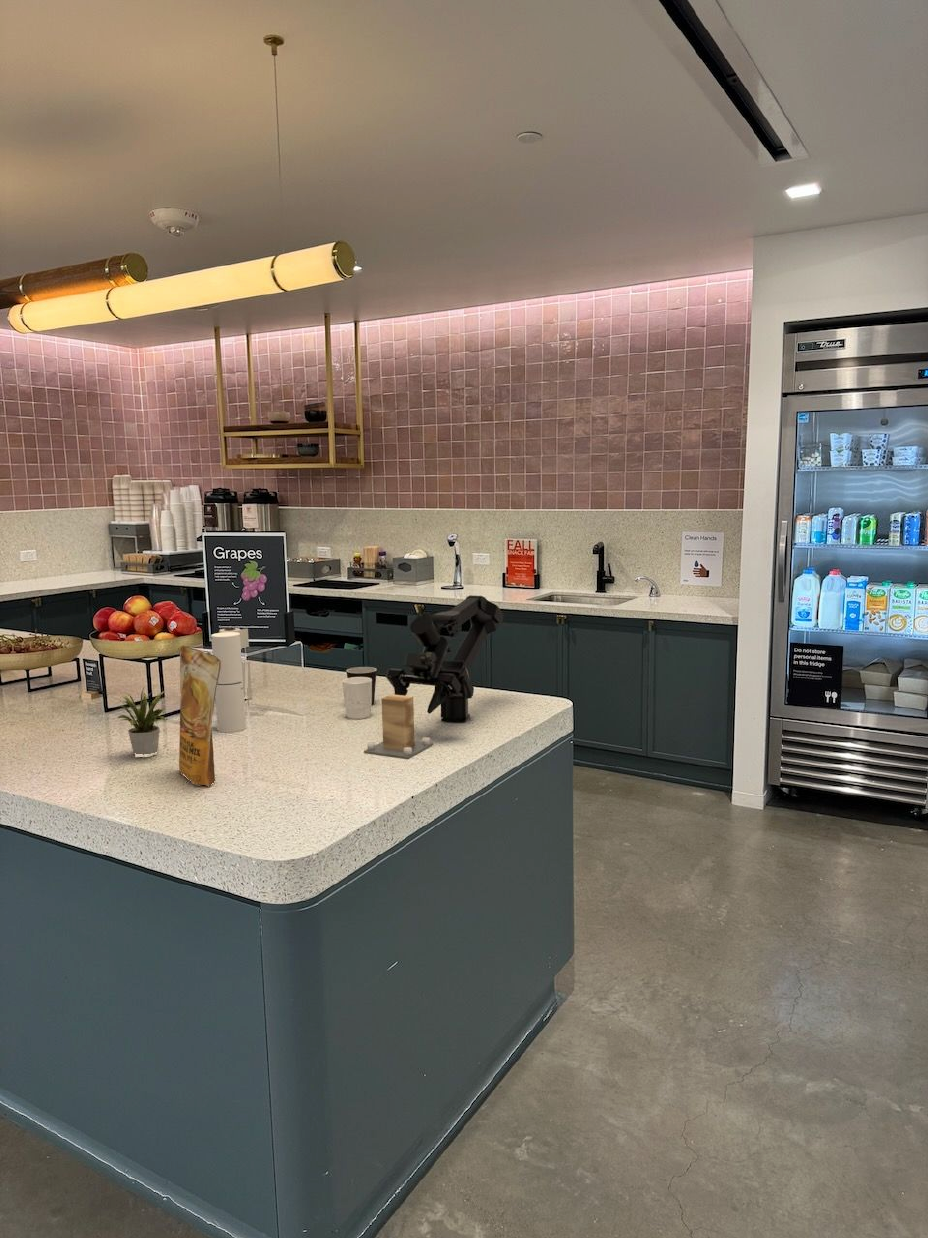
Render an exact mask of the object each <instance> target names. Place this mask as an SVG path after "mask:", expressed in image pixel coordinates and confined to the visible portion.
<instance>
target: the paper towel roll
mask: <svg viewBox="0 0 928 1238" xmlns="http://www.w3.org/2000/svg"><path fill="white" fill-rule="evenodd" d="M222 632H238V633H240V641H241V649H242V648H246V647H249V648H250V642H249V628H242V629H241V628H238V627H228V628H221V629H219V631H218V633H222ZM247 664H248V688H247V696H248V698H249V699H248V700H250V699H252V698H253V693H252V676H251V660H250V661H249V662H248V663H247ZM242 674H243V691H244V697H245V695H246V692H245V663H243V662H242Z"/></svg>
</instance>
